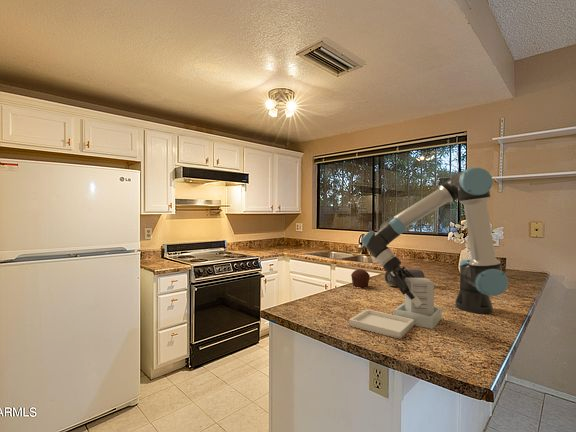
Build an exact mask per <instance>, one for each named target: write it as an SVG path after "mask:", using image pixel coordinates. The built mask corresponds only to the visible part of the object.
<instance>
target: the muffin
mask: <svg viewBox="0 0 576 432" xmlns="http://www.w3.org/2000/svg"><path fill="white" fill-rule="evenodd" d="M350 276H351V283H352V286H353V287H354V286H355V287H354V288H357V287H362V288H361V289H365V288H364V287H367V288H368V287H369V282H370V278H371V276H370V274H369V272H368V271H366V270H365V269H361V268H360V269H355V270H354V271H353V272H351V275H350Z"/></svg>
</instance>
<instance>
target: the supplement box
mask: <svg viewBox="0 0 576 432" xmlns="http://www.w3.org/2000/svg"><path fill="white" fill-rule="evenodd" d="M405 281H406V283H407V285H408V287H409V289H410V290H412V291H413V292H414V294H415V295H416V296H417V297H418V298H419V299H420V300H421V302H422V304H421V305H420V306H418V307H417V306H416V305H415V304H414V303H413V302H412V301H411V299H410V298H409V297H408V296H407V295H406V294H404V302H405V311H408V312H413V313H418V314H422V315H427V316H431V315H432V314H433V313H434V307H435V305H434V304H435V282H433V281H432V280H430V279H428V278H426V277H425V278H405ZM410 290H409V291H410Z"/></svg>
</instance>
